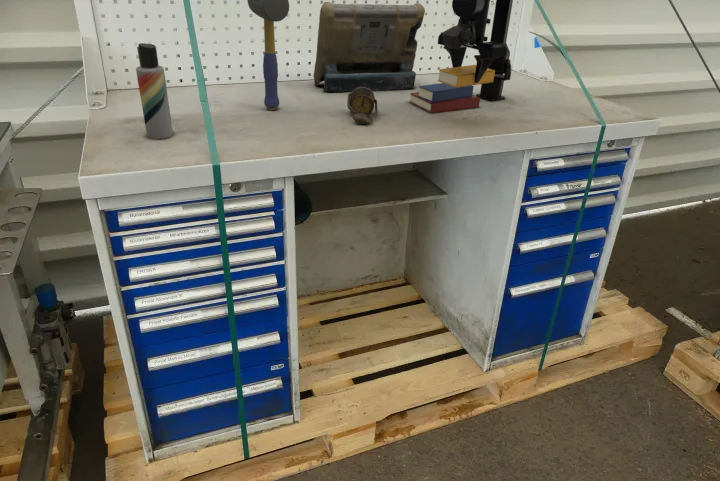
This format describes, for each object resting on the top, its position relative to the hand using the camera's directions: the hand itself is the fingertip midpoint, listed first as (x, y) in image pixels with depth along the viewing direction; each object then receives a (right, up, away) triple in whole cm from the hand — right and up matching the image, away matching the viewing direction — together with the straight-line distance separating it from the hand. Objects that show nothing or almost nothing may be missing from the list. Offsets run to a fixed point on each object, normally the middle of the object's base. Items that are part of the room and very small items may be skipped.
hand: (466, 79), depth 134 cm
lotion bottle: (-73, -17, -13) cm, 76 cm away
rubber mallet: (-51, -6, +8) cm, 52 cm away
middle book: (-3, 0, +16) cm, 16 cm away
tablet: (-25, +8, +33) cm, 42 cm away
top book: (0, 0, 0) cm, 1 cm away
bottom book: (-3, -2, +19) cm, 19 cm away
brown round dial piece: (-27, -9, +5) cm, 29 cm away
